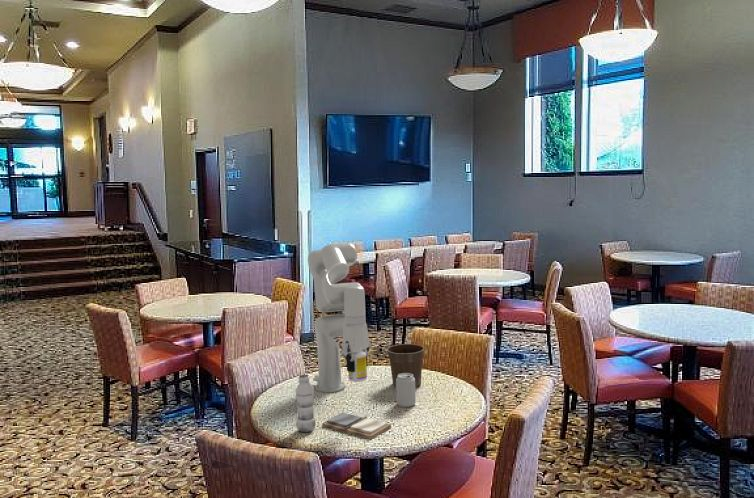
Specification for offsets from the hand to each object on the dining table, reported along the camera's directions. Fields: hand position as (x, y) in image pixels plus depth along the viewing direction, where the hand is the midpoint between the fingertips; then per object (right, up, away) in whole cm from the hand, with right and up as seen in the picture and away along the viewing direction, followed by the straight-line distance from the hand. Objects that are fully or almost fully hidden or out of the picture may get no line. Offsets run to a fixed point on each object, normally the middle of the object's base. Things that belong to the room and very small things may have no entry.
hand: (357, 368), depth 223 cm
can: (+19, -18, +19) cm, 33 cm away
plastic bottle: (-18, -22, -3) cm, 29 cm away
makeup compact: (0, -21, -1) cm, 21 cm away
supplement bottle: (0, -4, 0) cm, 4 cm away
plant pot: (+20, -16, +43) cm, 50 cm away
